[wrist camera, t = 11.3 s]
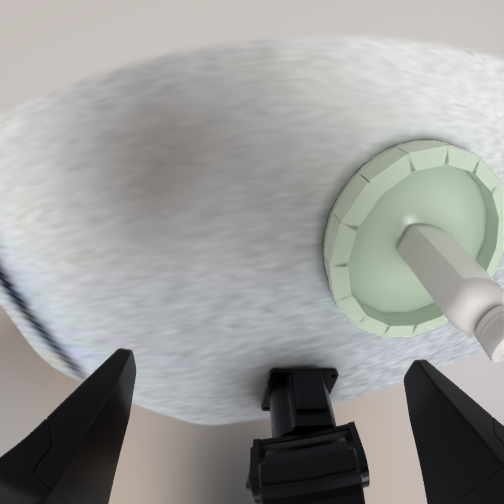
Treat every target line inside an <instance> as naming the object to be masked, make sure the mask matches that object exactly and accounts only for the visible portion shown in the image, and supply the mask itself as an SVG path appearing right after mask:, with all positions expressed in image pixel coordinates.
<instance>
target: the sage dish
mask: <svg viewBox="0 0 504 504" xmlns="http://www.w3.org/2000/svg"><path fill="white" fill-rule="evenodd" d="M413 225H430V226H434V227H437V228H439V229H441V230H443V231H444V232H446V233H447V234H448V235H450V236H451V237H452V238H453V239H454V240H455V241H456V242H457V243H458V244H459V245H460V246H461V247H462V248H463V249H464V250H465V251H466V252H468V253H469V254H470V255H471V256H472V257H473V258H474V259H475V260H476V261H477V262H478V263H479V264H480V265H481V266H482V268H483V269H484V270H485V271H486V272H487V273H488V274H489V275H490V276H491V277H493V275H494V273H495V271H496V269H497V266H498V264H499V262H500V259H501V257H502V255H503V252H504V189H503V185H502V182H501V180H500V179H499V178H498V176H497V175H496V174H495V173H494V171H493V170H492V169H491V168H490V167H489V166H488V164H487V163H486V162H485V161H484V160H483V159H482V157H480V156H478V155H476V154H474V153H472V152H469V151H467V150H464V149H462V148H459V147H456V146H453V145H450V144H448V143H445V142H441V141H437V140H414V141H408V142H404V143H401V144H397V145H395V146H393V147H391V148H388V149H386V150H384V151H383V152H381V153H379V154H378V155H376V156H374V157H373V158H372V159H371V160H369V161H368V162H367V163H366V164H364V165H363V166H362V167H361V168H360V169H359V170H358V171H357V172H356V173H355V174H354V175H353V176H352V177H351V179H350V180H349V181H348V183H347V184H346V185H345V187H344V188H343V189H342V191H341V193H340V195H339V196H338V198H337V200H336V201H335V204H334V206H333V208H332V210H331V213H330V215H329V218H328V222H327V225H326V229H325V235H324V241H323V257H324V265H325V269H326V273H327V277H328V280H329V285H330V289H331V292H332V295H333V297H334V300H335V303H336V304H337V305H338V306H339V308H340V309H341V310H342V311H343V313H344V314H345V315H346V316H347V317H348V319H349V320H350V321H351V322H352V324H353V325H354V326H355V327H358V328H360V329H363V330H365V331H367V332H370V333H372V334H375V335H377V336H380V337H412V336H415V335H418V334H421V333H424V332H427V331H429V330H432V329H435V328H437V327H440V326H442V325H444V324H446V323H447V322H448V321H449V320H448V319H447V318H446V317H445V315H444V314H443V313H442V311H441V310H440V308H439V307H438V306H437V304H436V303H435V302H434V300H433V299H432V297H431V296H430V295H429V293H428V292H427V290H426V289H425V288H424V286H423V285H422V284H421V282H420V281H419V280H418V278H417V277H416V276H415V274H414V273H413V272H412V270H411V269H410V268H409V266H408V265H407V264H406V262H405V261H404V260H403V258H402V257H401V256H400V254H399V252H398V247H399V244H400V242H401V241H402V239H403V237H404V235H405V234H406V232H407V230H408V229H409V228H410V227H411V226H413Z"/></svg>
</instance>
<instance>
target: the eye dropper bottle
mask: <svg viewBox="0 0 504 504" xmlns="http://www.w3.org/2000/svg"><path fill="white" fill-rule="evenodd" d="M398 252H399V254H400V256H401V257H402V258H403V260H404V261H405V262H406V264H407V265H408V266H409V268H410V269H411V270H412V272H413V273H414V274H415V276H416V277H417V278H418V280H419V281H420V282H421V284H422V285H423V286H424V288H425V289H426V290H427V292H428V293H429V295H430V296H431V297H432V299H433V300H434V302H435V303H436V304H437V306H438V307H439V308H440V310H441V311H442V313H443V314H444V315H445V317H446V318H447V319H448V320H449V322H450V323H451V324H452V325H453V326H455V327H456V328H457V329H458V330H460V331H462V332H464V333H466V334H469V335H472V336H475V337H476V338H477V340H478V341H479V343H480V344H481V346H482V347H483V349H484V350H485V352H486V353H487V355H488V357H489V358H490V360H491V361H492V362H501V361H503V360H504V290H503V289H502V288H501V287H500V286H499V284H498V283H497V282H496V281H495V280H494V279H493V278H492V277H491V276H490V275H489V274H488V273H487V272H486V271H485V270H484V269H483V268H482V266H481V265H480V264H479V263H478V262H477V261H476V260H475V259H474V258H473V257H472V256H471V255H470V254H469V253H468V252H466V251H465V250H464V249H463V248H462V247H461V246H460V245H459V244H458V243H457V242H456V241H455V240H454V239H453V238H452V237H451V236H450V235H448V234H447V233H446V232H444V231H443V230H441V229H439V228H437V227H434V226H430V225H413V226H411V227H410V228H409V229H408V230H407V232H406V234H405V235H404V237H403V239H402V241H401V242H400V244H399V247H398Z"/></svg>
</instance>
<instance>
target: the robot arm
mask: <svg viewBox="0 0 504 504" xmlns="http://www.w3.org/2000/svg"><path fill="white" fill-rule="evenodd" d="M135 377H136V365H135V360H134V355H133V352H132V350H129V349H123V348H120V349H118V350H117V351H115V352H114V353H113V354H112V355H111V356H110V357H109V358H108V359H107V360H106V361H105V362H104V363H103V364H102V365H101V366H100V367H99V368H98V369H97V370H95V371H94V372H93V373H92V374H91V375H90V376H89V377H88V378H87V379H86V380H85V381H84V382H83V383H82V384H81V385H80V386H79V387H78V388H77V389H76V390H75V391H74V392H73V393H72V394H71V395H70V396H69V397H68V398H66V399H65V400H64V402H62V403H61V404H60V405H59V406H58V407H57V408H56V409H55V410H54V411H53V412H52V413H51V414H50V415H49V416H48V417H47V419H45V420H44V421H43V422H42V423H41V424H40V425H39V426H38V427H37V428H36V429H34V431H32V432H31V433H30V434H29V435H28V436H27V437H26V438H24V439H23V440H22V441H21V442H19V443H18V444H17V445H16V446H14V447H13V448H12V449H11V450H9V451H8V452H7V453H5V454H4V455H3V456H1V457H0V504H108V503H109V498H110V493H111V488H112V485H113V480H114V476H115V472H116V467H117V463H118V459H119V455H120V451H121V447H122V444H123V440H124V436H125V432H126V428H127V425H128V421H129V416H130V410H131V403H132V396H133V390H134V384H135ZM337 377H338V371H337V370H335V369H272V370H270V372H269V375H268V380H267V384H266V388H265V392H264V396H263V400H262V404H261V409H262V410H263V411H270V414H271V426H272V438H269V439H254V440H253V447H252V448H251V449H250V456H251V457H250V458H251V460H250V469H249V473H248V478H247V482H246V488H247V489H248V490H249V491H250V492H251V493H252V495H253V497H254V500H255V502H256V504H365V500H364V492H363V488H364V487H368V486H369V470H368V464H367V460H366V456H365V452H364V449H363V447H362V443H361V441H360V438H359V435H358V432H357V429H356V426H355V423H354V422H350V423H348V424H345V425H341V426H336V423H335V418H334V414H333V409H332V405H331V400H330V396H329V394H330V392H331V390H332V388H333V386H334V384H335V382H336V380H337ZM404 385H405V392H406V398H407V405H408V411H409V417H410V422H411V427H412V431H413V435H414V439H415V443H416V448H417V452H418V457H419V462H420V466H421V471H422V476H423V481H424V486H425V492H426V497H427V503H428V504H504V426H503V425H502V424H501V423H499V422H498V421H497V420H496V419H495V418H493V417H492V416H491V415H490V414H489V413H488V412H486V411H485V410H484V409H483V408H482V407H481V406H480V405H479V404H477V403H476V402H475V401H474V400H473V399H472V398H470V397H469V396H468V395H467V394H466V393H465V392H463V391H462V390H461V389H459V387H457V386H456V385H455V384H454V383H453V382H451V381H450V380H449V379H448V378H447V377H446V376H444V375H443V374H442V373H441V372H439V371H438V370H437V369H436V368H435V367H434V366H432V365H431V364H430V363H429V362H428V361H426V360H415V361H414V362H413V363H412V365H411V366H410V368H409V370H408V371H407V373H406V374H405V377H404Z"/></svg>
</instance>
